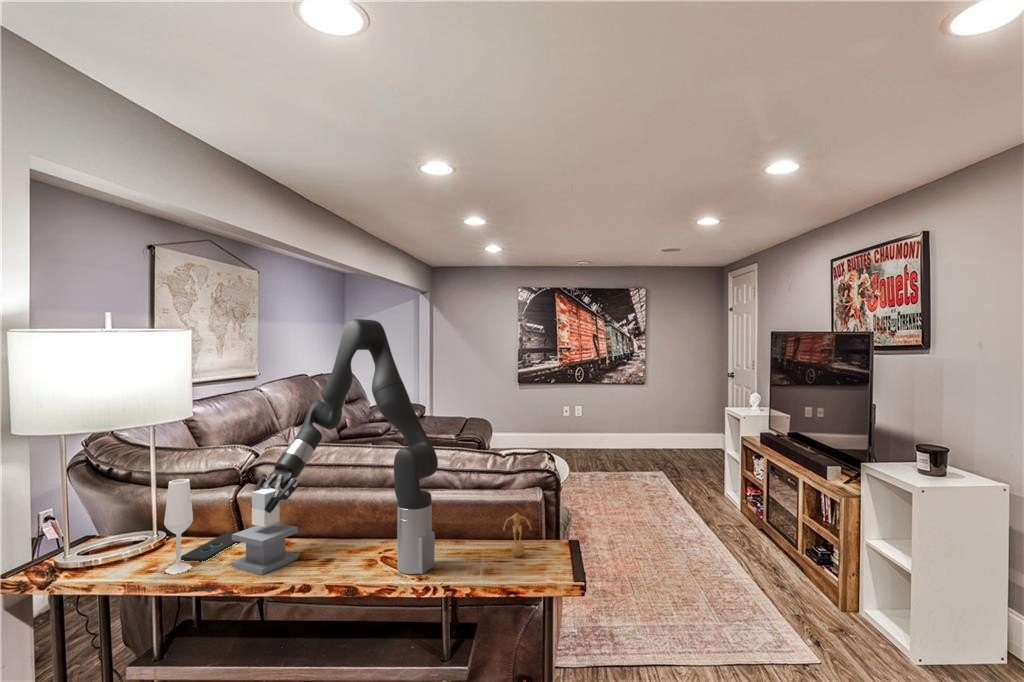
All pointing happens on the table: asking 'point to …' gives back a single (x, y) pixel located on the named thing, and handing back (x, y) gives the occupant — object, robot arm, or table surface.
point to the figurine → (517, 547)
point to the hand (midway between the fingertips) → (260, 509)
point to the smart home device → (210, 548)
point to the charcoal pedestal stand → (264, 548)
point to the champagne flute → (178, 518)
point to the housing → (258, 508)
